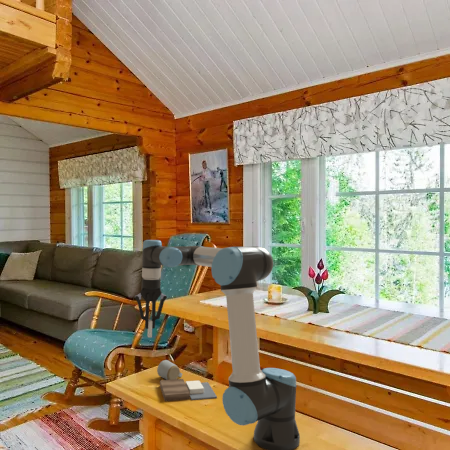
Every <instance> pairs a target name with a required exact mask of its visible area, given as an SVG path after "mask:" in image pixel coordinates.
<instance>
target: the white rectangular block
mask: <svg viewBox="0 0 450 450" xmlns="http://www.w3.org/2000/svg"><path fill="white" fill-rule="evenodd" d="M201 383H202V382H201V381H200V380H187V381H185V384H186V386H187V388H188V390H189V392H190V394H199V393H204V387H203V386H202V384H201Z"/></svg>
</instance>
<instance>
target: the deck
mask: <svg viewBox="0 0 450 450" xmlns="http://www.w3.org/2000/svg"><path fill="white" fill-rule="evenodd" d="M159 389H160V391H161V393H162V397H163V400H164V402H173V401H183V400H184V401H186V400H191V398H190V392H189V390H188V388H187V386H186V381H185V380H184V378H177V379H172V380H166V379H161V380H159Z"/></svg>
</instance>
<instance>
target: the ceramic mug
mask: <svg viewBox="0 0 450 450" xmlns="http://www.w3.org/2000/svg"><path fill="white" fill-rule="evenodd" d="M156 372H157V375H158V376H159V377H160V378H163V380H172V379H179V378H182V376H183V373H182V372H180V367H178V365H176V364H175V363H173V362H171V361H170V360H168V359H165V360H162V361H160V363H159V364H158V366H157V371H156Z"/></svg>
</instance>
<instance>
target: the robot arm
mask: <svg viewBox="0 0 450 450" xmlns="http://www.w3.org/2000/svg"><path fill="white" fill-rule="evenodd" d="M141 251H142V252H141V253H142V255H141V256H142V258H141V259H142V260H141V262H142V263H141V264H142V265H141V266H142V267H141V268H142V269H141V271H142V272H141V277H142V279H141V289H140V292H139V293H138V294H137V295H136V294H135V296H134V299H135V300H136V303H137V307H138V311H139V316H140V318H141V319H140V320H142V321H144V328H145V329H146V330H147V338H153V329H155V327H156V320H159V319H160V318H161V315H162V310H163V307H164V303H165V301H166V300H167V295H166V294H164V293H163V292H162V289H161V285H162V283H161V281H162V279H161V277H162V266H163V267H166V268H175V267H179V266H189V265H191V266H202V267H209V268H211V276H212V278H213V279H214V282H215V283H216V284H218V285H220V291H221V293H223V294H224V295H225V299H226V309H227V320H228V330H229V331H228V333H229V342H230V354H231V355H230V356H231V367H232V372H231V374H230V376H228V388H226V389H225V390H224V392H223V394H222V405H223V408H224V411H225V413H226V415H227V416H228V417H229V418H230V420H231V421H232V422H233V423H234V424H236V425H239V426H247V425H250V424H251V425H252V424H254V423H256V425H255V427H254V431H253V441H254V443H255V444H256V445H257V446H259V447H261V448H262V449H265V450H295V449H296V448H298V446H299V445H300V441H301V440H300V439H301V437H300V432H299V431H300V430H299V428H298V425H297V421H296V403H297V402H296V398H297V377H296V375H295V374H294V373H293V372H291V371H289V370H286V369H281V368H278V367H277V368H276V367H266V368H265V367H264V368H262V369H261V365H260V355H259V345H258V336H257V335H258V333H257V324H256V312H255V300H254V292H255V291H256V289H257V288H258V284H257V282H259V281H260V282H261V281H262V280H264V279H266V278H268V276H270V274H271V273H272V271H273V268H274V259H273V256H272V255H271V253H270V252H269V251H268V249H266V248H264V247H261V246H228V247H223V248H221V247H210V246H209V247H208V246H202V245H187V246H177V245H176V246H163V245H162V241H161V240H159V239H146V240H143V243H142V249H141ZM159 298H160V300H159V304H158V307H156V304H157V301H158V299H159ZM142 299H143V300H144V301H145V308H144V309H145V312H144V310H143V306H142V302H141V300H142ZM150 302H151V319H150V317H149V316H150ZM156 308H157V312H156ZM144 313H145V315H144Z"/></svg>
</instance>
